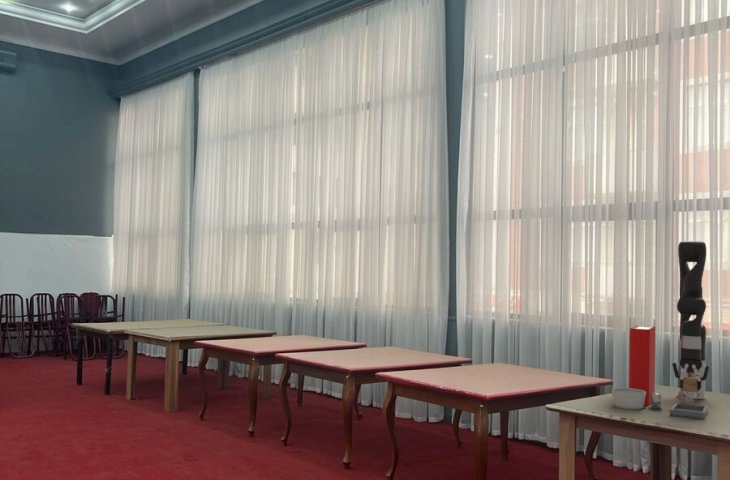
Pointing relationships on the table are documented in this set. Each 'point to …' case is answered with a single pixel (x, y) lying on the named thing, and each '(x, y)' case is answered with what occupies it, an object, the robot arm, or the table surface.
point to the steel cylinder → (655, 401)
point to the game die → (687, 397)
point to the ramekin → (628, 398)
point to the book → (642, 360)
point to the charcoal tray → (689, 411)
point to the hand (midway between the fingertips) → (690, 389)
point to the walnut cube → (690, 384)
